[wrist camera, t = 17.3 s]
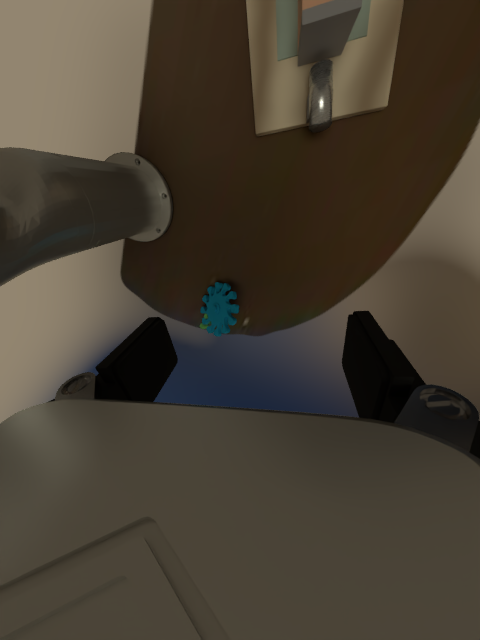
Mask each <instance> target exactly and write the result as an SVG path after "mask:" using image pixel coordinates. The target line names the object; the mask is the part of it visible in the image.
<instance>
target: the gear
mask: <svg viewBox="0 0 480 640" xmlns="http://www.w3.org/2000/svg"><path fill="white" fill-rule="evenodd" d="M221 288H222V290H221V291H220V289H221ZM230 289H231V287H230V285H229V284H227V283H224V284H222V283H218V282H216V283H215V287H211V286H210V287H209V288H208V289H207V290H208V293H209V296H208V295H204V297H203V298H202V300H203V302H205V303H206V305H207V307H201V313H206V314H204V318H202V323H201V324H200V328H201V329H207V331H208V333H213V332H214V335H215V336H221V334H222V333H229V332H230V328H229V327H228V324H229V325H234V324H235V323H236V321H237V320H236V318H234V317H233V316H232V315H231V313H238V312H239V305H236V304H233V305H232V304H230V303H229V299H236V298H237V295H236V292H233V291H231V292H230V293H229V294H228V295H227V296H225V293H226V291H229V290H230ZM208 325H211V326H208ZM222 325H223V327H222ZM216 326H217V329H216V330H215V331H214V329H215V327H216ZM221 329H222V333H221Z"/></svg>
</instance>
